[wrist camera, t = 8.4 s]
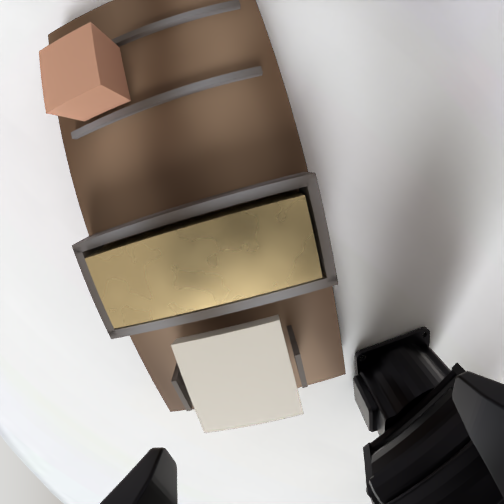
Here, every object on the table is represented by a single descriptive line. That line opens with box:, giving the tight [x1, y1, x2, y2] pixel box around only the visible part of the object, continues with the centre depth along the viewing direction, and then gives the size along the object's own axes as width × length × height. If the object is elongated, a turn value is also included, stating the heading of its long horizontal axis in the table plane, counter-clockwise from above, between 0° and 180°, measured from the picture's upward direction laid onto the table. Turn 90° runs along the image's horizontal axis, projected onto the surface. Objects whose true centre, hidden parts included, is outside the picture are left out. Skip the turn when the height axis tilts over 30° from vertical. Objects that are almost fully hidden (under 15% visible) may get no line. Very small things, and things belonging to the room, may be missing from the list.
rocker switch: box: [171, 315, 304, 433], centre depth 16 cm, size 6×6×1 cm
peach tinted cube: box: [39, 22, 131, 121], centre depth 12 cm, size 3×4×4 cm
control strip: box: [48, 0, 346, 412], centre depth 16 cm, size 13×28×5 cm, turn 15°
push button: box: [85, 191, 322, 328], centre depth 15 cm, size 11×4×2 cm, turn 105°
